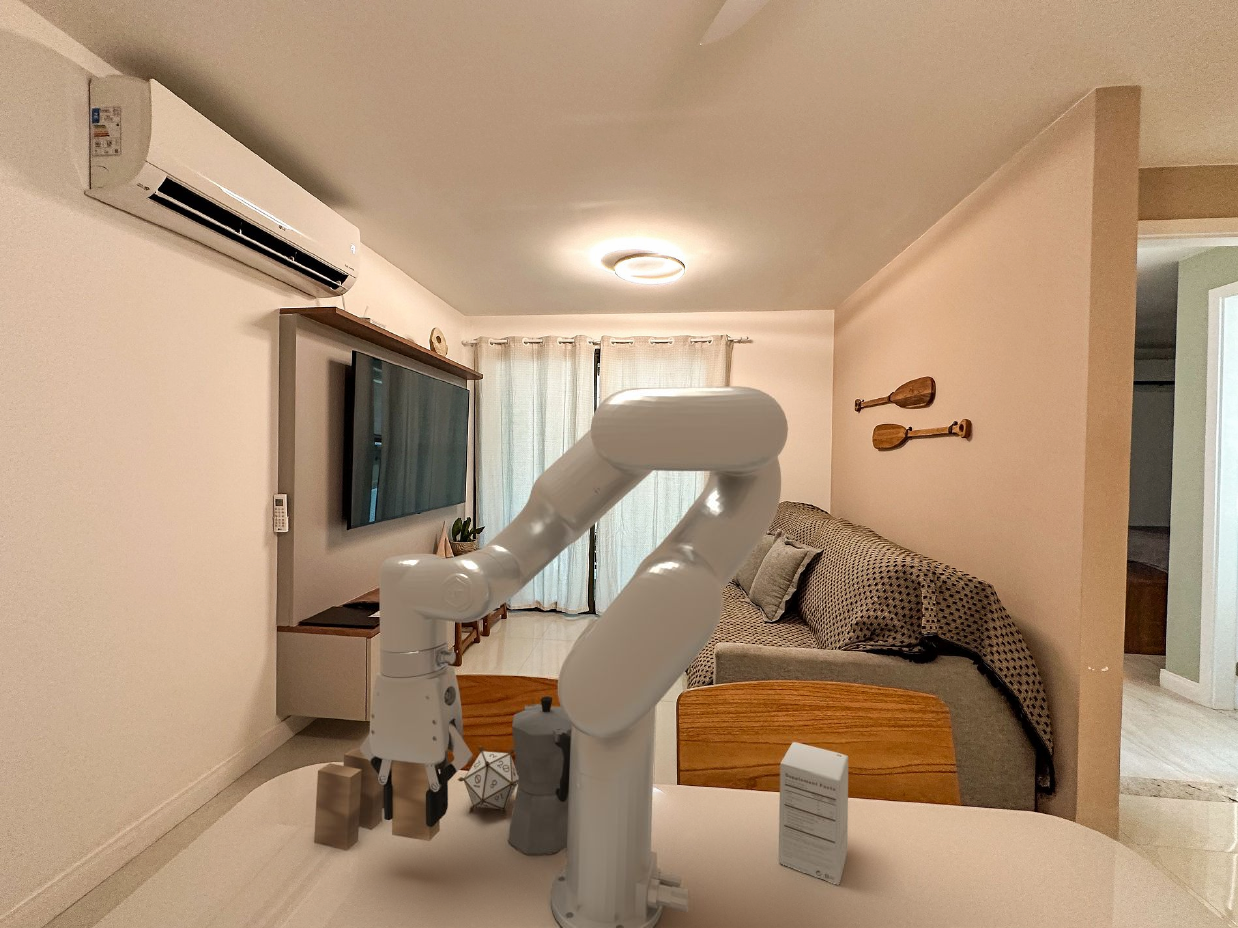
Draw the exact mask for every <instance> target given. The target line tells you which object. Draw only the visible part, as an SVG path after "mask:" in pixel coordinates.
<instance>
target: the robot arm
mask: <svg viewBox="0 0 1238 928" xmlns="http://www.w3.org/2000/svg"><path fill="white" fill-rule="evenodd" d="M788 431H789V426H788V420H787V416H786V413H785V411H784V409H783V408H782V407H781V404H780V403H779V402H778V401H777V400H776V399H775V398H774V397H772V396H771V395H770V394H768V393H766V392H765V391H761V390H760V389H756V388H753V387H751V386H750V387H748V386H735V385H733V386H729V385H728V386H696V387H695V386H693V387H692V386H691V387H689V386H688V387H687V386H686V387H683V386H682V387H678V386H677V387H635V388H626V389H623V390H618V391H616V392H614V393H612V394H610V395H609V396H607V397H606V398H605V399H604V400H602V401H601V403H600V404H599V405H598V406H597V408H596V410H595V411H594V413H593V416H592V419H591V423H590V428H589V430H588V431H586V432H585V434H583V436H582V437H580V438H579V439H578V440H577V441H575V443H574V444H572V446H571V447H569V448H568V450H566V452H564V453H563V454H562V455H561V456H560V457H559V458H558V459H556V460H555V461H554V463H551V465H550V466H548V468H546V469H545V470H544V471H543V472H542V473H541V474H540V475H539V476H538V477H537V479H536V480H535V481H534V483H533V485H532V487H531V490H530V494H529V498H528V500H527V502H526V503H525V505H524V507H522V509H521V510H520V512H519V513H518V514H517V515H516V516H515V518H513V520H512V521H511V522H510V523H508V525H507V526H505V528H502V530H501V531H500V532H499V533H498V534H496V536H495V537H493V538H492V540H490V541H489V542H488V543H486V545H484V546H483V547H482V548H480V549H477V550H474V551H470V552H468V553H465V554H461V555H457V556H453V557H448V558H443V556H440V555H438V554H435V553H409V554H402V555H396V556H391V557H388V558H387V559H385V560H384V561H383V562H382V563H381V566H380V567H379V667H380V668H379V671H378V672H376V673H377V674H376V676H375V680H374V684H373V689H372V696H371V705H370V718H369V733H368V735H367V736H366V738H365V739H364V741H363V742H362V743H361V744H360V748H359V749H360V751H361V753H362V754H363V755H364V756H365V757H366V758H367V759H368V760H369V761H371V765H372V767H373V768H374V769H375V771H376V772H377V773H378V775H379V777H378V781H379V782H380V784H384V808H383V810H384V811H383V815H384V816H383V819H384V820H385V821H392V818H393V785H392V764H393V761H401V762H409V763H418V764H425V768H426V772H427V776H428V780H429V784H430V789H429V790H428V791H427V792H426V825H427V826H428V827H433V826H434V825H435V824H436V823H437V822H438V821H439V820H441V819H442V818H443V817H444V816H445V815H446V813H447V811H448V808H449V781H450V780H451V779H452V778H453V777H454V775H456V774H457V773H458V772H459V771H460V770H461V769H463V768H464V767H465V766H466V765H468V764H469V763H470V762H471V761H472V760H473V758H474V755H473V753H472V752H471V750H470V748H469V747H468V745H467V744H466V741H464V728H463V727H464V725H463V712H462V703H461V695H460V690H459V683H458V679H457V675H456V672H455V669H454V667H452V666H449V664H451V665H452V664H454V663H455V661H456V657H457V656H456V652H455V651H450V650H449V643H448V622H454V623H471V622H475V621H478V620H480V619H482V618H485V616H487V615H488V614H491V612H493V611H494V610H496V609H497V608H499V607H500V606H502V605H503V604H505V603H507V602H508V601H509V600H511V599H512V598H514V597H515V595H517V594H518V593H519V592H520V591H521V590H522V589H524V588H525V586H527V584H529V582H531V581H532V580H533V579H534V578H535V577H536V576H537V575H539V574H540V573H541V572H542V571H543V570H544V569H545V568H546V567H547V566H548V565H549V564H551V563H552V562H553V561H554V560H555V559H556V558H557V557H559V556H560V554H562V552H563V551H564V550H566V549H567V548H569V546H571V545H572V544H574V543H575V542H577V541H578V540H579V539H581V537H582V536H583V535H584V534H585V533H586V532H588V531H589V530H590V529H591V528H592V527H593V526H594V525H595V524H596V523H597V522H598V521H600V520H601V519H602V518H603V517H604V516H605V515H607V513H608V512H609V511H610V510H612V508H613V507H614V506H616V505H617V504H618V503H619V502H620V501H621V500H622V499H623V498H624V497H625V496H627V494H629V493H630V492H631V491H632V490H633V489H635V488H636V487H637V486H638V485H639V484H641V482H642V481H644V480H645V479H646V477H648V476H649V475H650V474H651V473H653V472H654V471H656V472H661V471H662V472H664V471H665V472H708V477H707V478H708V479H707V483H706V484H705V487H704V489H703V490H702V492H700V494H699V496H698V497H697V498H696V500H695V501H694V502H693V503H692V504H691V506H690V507H689V508H688V509H687V512H685V514H684V516H683V517H682V518H681V519H680V520H679V522H678V523H677V524H676V526H674V527H673V529H672V530H671V532H669V534H668V535H667V536H666V537H664V539H663V540H662V541H661V543H660V544H659V545H657V547H656V548H655V549H654V550H653V551H651V553H650V554H648V555H647V556H646V557H645V558H644V559H643V560H642V561H641V562H640V564H639V565H638V567H637V568H636V570H635V572H634V574H633V575H632V577H631V578H630V579H629V581H628V582H627V583H626V585H625V586H624V587H623V588H622V589H621V590H620V592H619V593H618V595H617V596H616V597H615V598H614V599H613V601H612V602H611V603H610V604H609V606H607V608H606V609H605V611H604V612H603V613H602V614H601V616H599V617H597V618H596V619H594V620H593V621H591V622H590V623H589V624H588V625H587V626H586V627H585V628H584V630H582V632H581V633H580V635H579V636H578V638H577V639H576V640H575V642H574V643H573V646H572V647H571V649H570V651H569V652H568V654H567V656H566V657H565V659H564V661H563V663H562V665H561V667H560V671H559V674H558V681H557V695H558V703H559V705H560V706H559V707H561V708H562V711H563V713H564V715H565V716H566V718H567V719H568V721H569V722H570V723H571V724H572V728H571V747H570V774H569V802H568V830H567V846H566V860H565V861H566V865H565V867H564V868H563V869H561V870H560V871H559V873H558V874H557V875H556V877H555V879H554V881H553V883H552V885H551V891H550V905H551V911H552V914H553V916H554V918H555V920H556V921H557V922H558V924H559V925H560V927H562V928H654V927H655V925H656V924H657V923H658V921H659V919H660V918H661V916H662V912H663V907H668V908H670V909H671V910H676V911H680V912H684V913H687V912H688V910H689V901H690V889H687V888H686V889H685V888H682V874H677V873H672V872H665V871H662V868H660V867H657V865H658V863H657V862H658V852H655V851H651V850H652V822H653V821H652V820H653V818H652V817H653V790H654V789H653V787H654V785H653V784H654V783H653V782H654V763H655V762H654V760H655V736H656V735H655V733H656V732H655V731H656V730H655V729H656V707H657V705H658V704H659V703H660V701H662V699H663V698H664V697H665V695H666V694H667V693H668V692H669V691H670V690H671V689H672V688H673V686H674V685H675V684H676V683H677V681H678V680H679V679H680V678H681V677H682V676H683V674H684V673H685V672H686V671H687V669H688V668H689V667H690V666H691V664H692V663H694V661H695V660H696V658H697V657H698V656H699V655H700V654H701V652H702V651H703V650H704V649H705V647H706V646H707V645H708V643H709V641H711V638H712V637H713V635H714V633H715V632H716V630H717V628H718V626H719V623H720V621H721V618H722V615H723V609H724V608H723V607H724V596H723V591H724V590H725V588H726V587H727V585H728V584H729V583H730V581H732V579H733V578H734V577H735V576H736V574H737V572H739V570H740V569H741V568H742V567H743V565H744V564H745V562H746V561H747V559H748V558H749V557H750V555H751V554H752V553H753V552H754V551H755V550H756V548H757V546H759V543H761V541H762V540H763V538H764V537H765V535H766V534H767V533H768V532H769V529H770V528H771V525H772V524H773V522H774V519H775V517H776V515H777V511H778V508H779V504H780V500H781V493H782V471H781V466H780V465H781V464H780V461H779V455H780V454H781V453H782V452H783V450H784V448H785V445H786V443H787V440H788V433H789V432H788ZM447 751H450V752H451V754H452V755H453V758H454V759H453V760H452V761H451V762H450V759H449V755H448V752H447ZM437 765H438V766H439V770H438V766H437Z"/></svg>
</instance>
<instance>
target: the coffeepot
mask: <svg viewBox="0 0 1238 928" xmlns="http://www.w3.org/2000/svg"><path fill="white" fill-rule="evenodd" d="M552 703H553V697H551V696H542V697H541V698H540V704H539V703H537V704H536V703H534V704H531V705H524V710H522V711H519V712H517V713H515V714H513V718H512V724H511V725H512V726H511V729H512V730H511V731H512V739H513V748H514V759H515V761H514V762H515V767H516V771H517V775H518V776H519V780H518V784H517V786H516V792H515V798H514V803H513V807H512V813H511V819H510V824H509V831H508V837H507V842H508V843H509V844H510V845H511V847H513V848H514V849H515V850H517V851H519V853H520V852H521V853H523V854H526V855H530V856H531V855H532V856H545V855H551V854H555V853H558V852H560V851H561V850H563V849H565V848H567V830H568V802H569V774H570V747H571V728H572V724H571V723H570V722H569V721H568V719H567V718H566V716H565V715H564V713H563V711H562V708H561V706H552Z"/></svg>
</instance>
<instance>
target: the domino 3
mask: <svg viewBox="0 0 1238 928" xmlns="http://www.w3.org/2000/svg"><path fill="white" fill-rule="evenodd" d="M437 766H438V765H437ZM438 770H439V766H438ZM439 771H440V770H439ZM392 785H393V818H392V819H391V823H392V824H391V829H392V830H391V835H392V836H395V837H401V838H402V837H403V838H407V839H408V838H409V839H415V840H421V841H427V842H430V841H432V839H433V838H434V837H435V836H436V835H437V834H438V833H439V832H440V830H441V829H440V827H441V826H440V820H441V819H440V820H439V821H438V822H437V823H436V824H435V825H434V826H433V827H428V826H427V825H426V792H427V791H428V790H429V789H430V784H429V780H428V776H427V772H426V768H425V764H418V763H409V762H401V761H393V764H392Z"/></svg>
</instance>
